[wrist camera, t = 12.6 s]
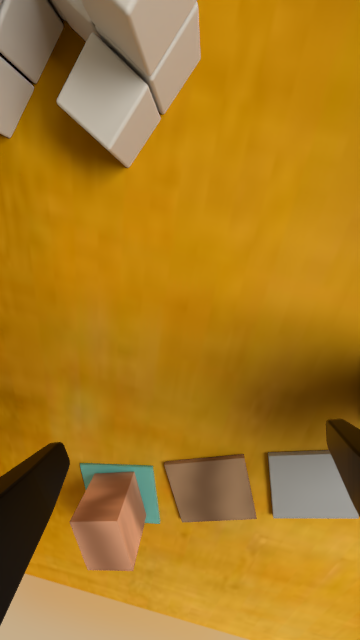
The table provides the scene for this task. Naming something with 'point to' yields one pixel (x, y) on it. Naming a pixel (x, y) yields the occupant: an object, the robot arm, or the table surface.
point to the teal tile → (143, 479)
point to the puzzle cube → (102, 63)
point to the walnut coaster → (211, 488)
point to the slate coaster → (308, 486)
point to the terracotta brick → (110, 522)
